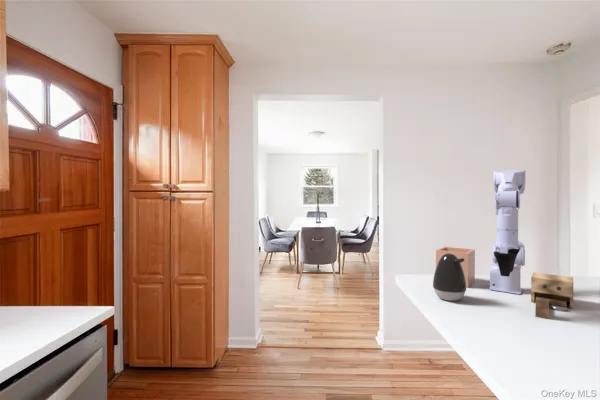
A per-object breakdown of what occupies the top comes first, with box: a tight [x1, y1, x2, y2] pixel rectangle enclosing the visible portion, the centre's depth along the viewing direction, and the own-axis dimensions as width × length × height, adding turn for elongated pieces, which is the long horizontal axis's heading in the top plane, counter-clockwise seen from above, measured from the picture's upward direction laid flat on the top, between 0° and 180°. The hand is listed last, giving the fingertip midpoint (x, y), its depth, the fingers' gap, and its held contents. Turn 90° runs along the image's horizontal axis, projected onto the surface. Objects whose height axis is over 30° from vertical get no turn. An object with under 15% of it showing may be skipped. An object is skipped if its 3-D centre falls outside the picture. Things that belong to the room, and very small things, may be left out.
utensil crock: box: [435, 246, 476, 289], centre depth 131 cm, size 12×12×13 cm
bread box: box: [530, 272, 574, 310], centre depth 106 cm, size 10×10×8 cm
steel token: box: [549, 304, 568, 313], centre depth 100 cm, size 4×4×1 cm
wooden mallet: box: [534, 297, 567, 320], centre depth 97 cm, size 7×16×5 cm, turn 142°
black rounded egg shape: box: [432, 253, 467, 302], centre depth 110 cm, size 10×10×15 cm
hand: (506, 273), depth 101 cm, fingers open, 7 cm apart
